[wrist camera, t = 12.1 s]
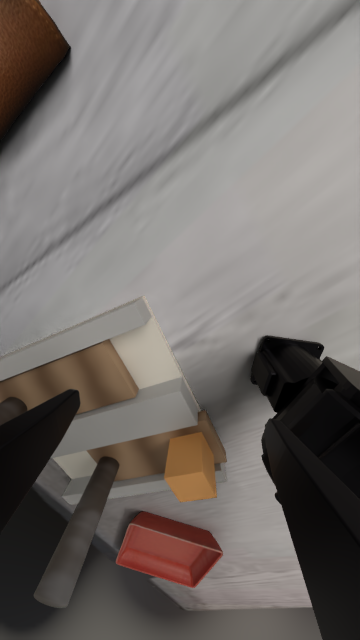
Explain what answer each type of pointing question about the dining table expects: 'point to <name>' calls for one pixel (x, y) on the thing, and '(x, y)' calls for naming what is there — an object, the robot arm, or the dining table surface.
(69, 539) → the walnut strip
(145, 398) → the lane board
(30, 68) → the sunglasses case
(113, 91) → the dining table surface
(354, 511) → the robot arm
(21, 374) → the walnut strip
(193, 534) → the plant saucer
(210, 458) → the orange cube
